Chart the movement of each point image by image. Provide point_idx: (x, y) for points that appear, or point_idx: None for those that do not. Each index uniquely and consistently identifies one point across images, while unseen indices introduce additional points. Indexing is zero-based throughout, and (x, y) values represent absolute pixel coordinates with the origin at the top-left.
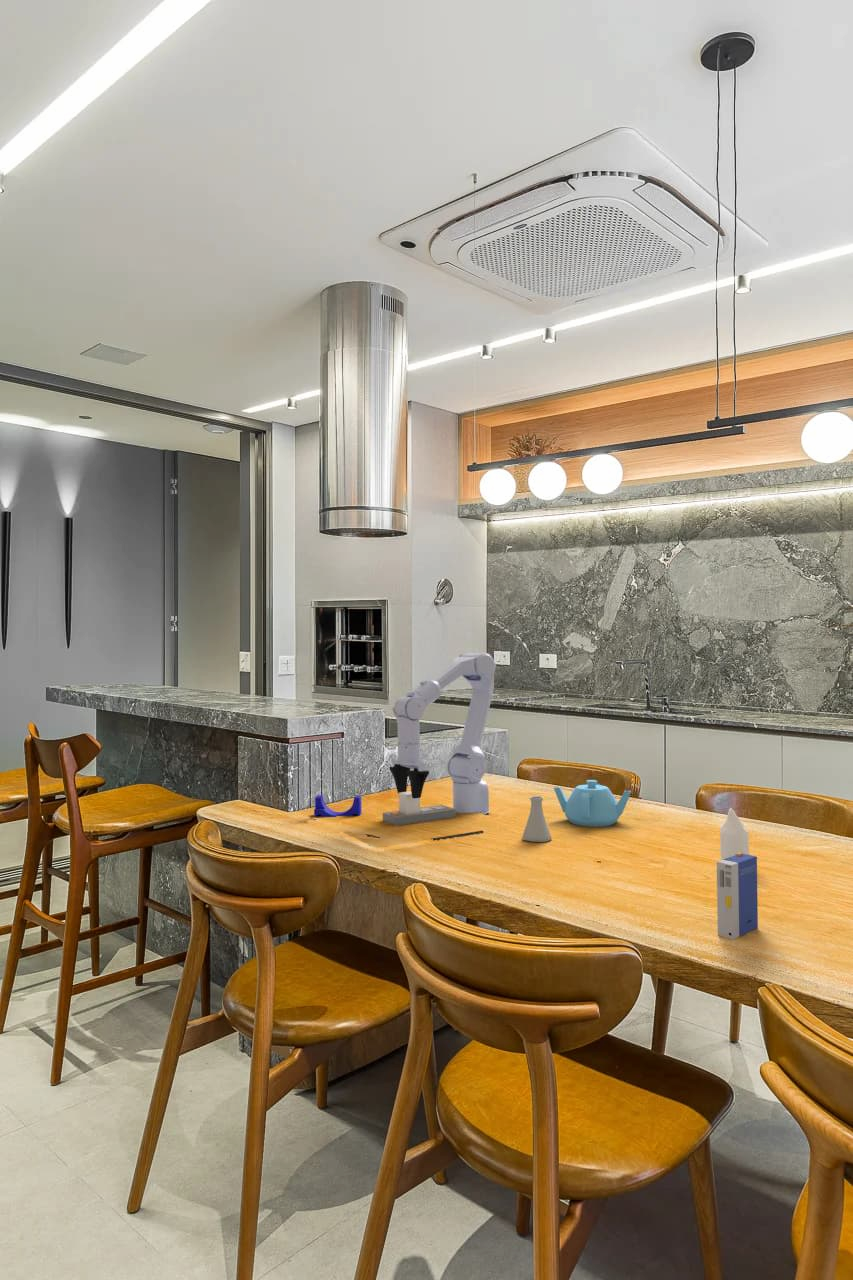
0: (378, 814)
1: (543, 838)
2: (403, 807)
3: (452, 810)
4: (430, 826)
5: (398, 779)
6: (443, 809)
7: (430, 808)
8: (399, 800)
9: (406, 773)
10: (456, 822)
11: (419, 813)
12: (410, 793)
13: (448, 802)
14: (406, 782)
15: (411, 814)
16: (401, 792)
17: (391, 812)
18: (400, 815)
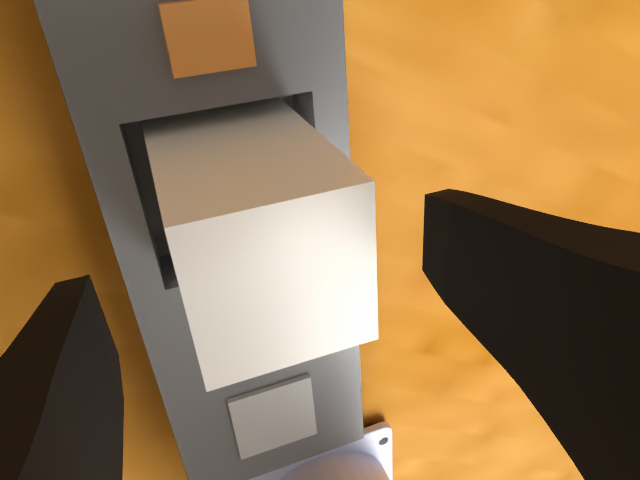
0: (594, 54)
1: None
2: (220, 148)
3: (188, 477)
4: (72, 276)
5: (554, 281)
6: (222, 436)
7: (296, 367)
8: (321, 150)
9: (587, 445)
10: (137, 436)
11: (147, 260)
12: (251, 298)
13: (561, 446)
14: (496, 352)
15: (129, 184)
16: (365, 214)
17: (239, 3)
18: (123, 65)
